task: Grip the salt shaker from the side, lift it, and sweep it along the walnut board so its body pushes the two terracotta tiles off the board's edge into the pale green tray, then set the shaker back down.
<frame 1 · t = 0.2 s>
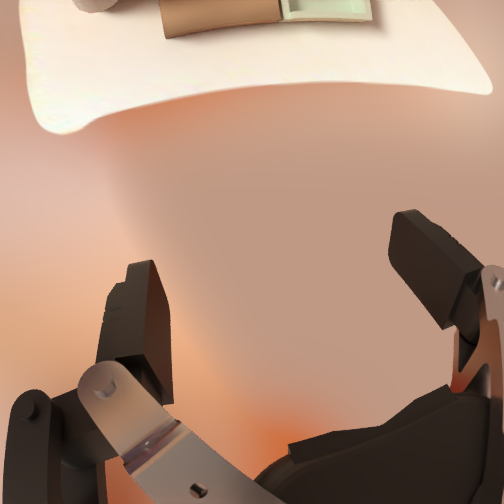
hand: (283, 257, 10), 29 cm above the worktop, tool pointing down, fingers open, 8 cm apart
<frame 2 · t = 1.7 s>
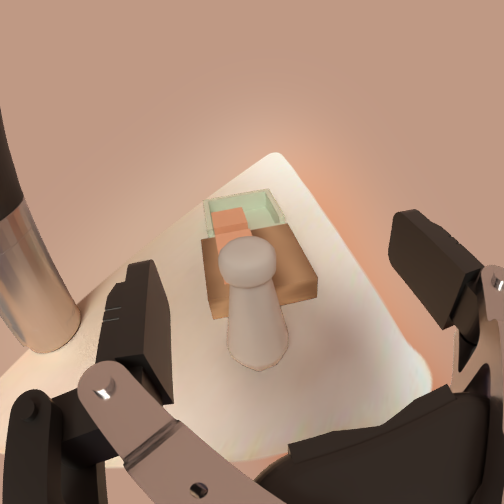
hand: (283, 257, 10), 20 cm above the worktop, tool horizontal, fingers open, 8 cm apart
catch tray: (243, 228, 50), on the worktop
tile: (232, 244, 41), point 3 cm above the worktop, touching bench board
salt shaker: (259, 355, 31), on the worktop
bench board: (255, 275, 40), on the worktop
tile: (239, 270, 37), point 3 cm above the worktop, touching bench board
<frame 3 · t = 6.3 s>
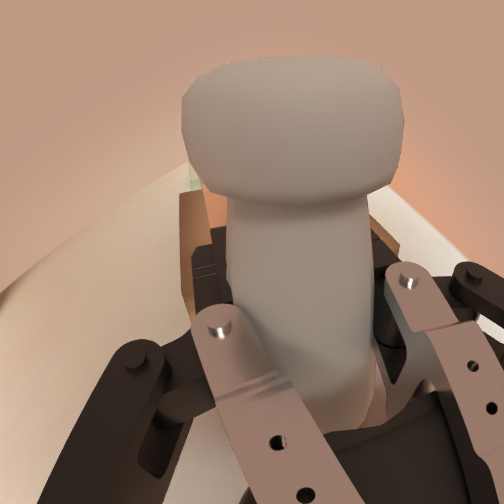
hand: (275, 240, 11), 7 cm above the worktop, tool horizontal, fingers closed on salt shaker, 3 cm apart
salt shaker: (297, 412, 13), on the worktop, touching gripper
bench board: (273, 250, 22), on the worktop
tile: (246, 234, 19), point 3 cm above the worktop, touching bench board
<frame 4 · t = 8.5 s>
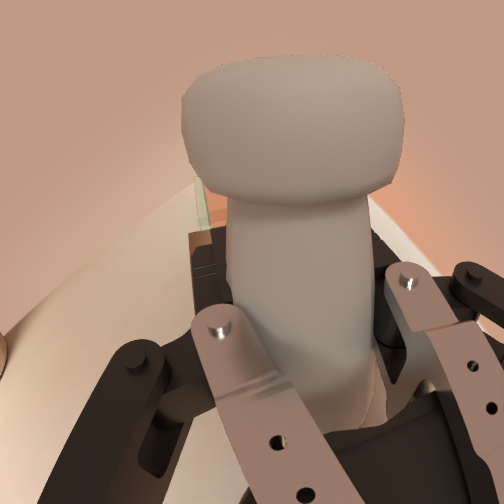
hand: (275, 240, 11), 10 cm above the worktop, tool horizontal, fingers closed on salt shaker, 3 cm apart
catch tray: (254, 216, 33), on the worktop
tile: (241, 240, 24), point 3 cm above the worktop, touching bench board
salt shaker: (297, 413, 13), point 3 cm above the worktop, touching gripper
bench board: (281, 294, 23), on the worktop
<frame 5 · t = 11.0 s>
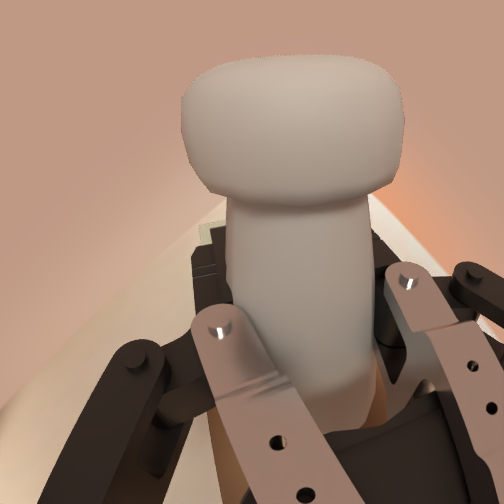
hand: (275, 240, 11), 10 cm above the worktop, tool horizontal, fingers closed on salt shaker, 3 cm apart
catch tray: (284, 285, 24), on the worktop
salt shaker: (297, 413, 13), point 3 cm above the worktop, touching gripper
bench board: (334, 426, 15), on the worktop
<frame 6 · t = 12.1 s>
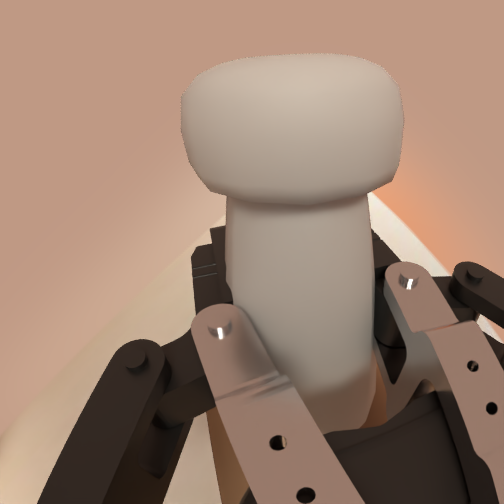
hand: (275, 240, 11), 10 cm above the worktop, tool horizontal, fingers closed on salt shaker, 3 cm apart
salt shaker: (297, 414, 13), point 3 cm above the worktop, touching gripper, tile
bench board: (353, 476, 12), on the worktop
when the fingers open (8 cm above the worktop, at t = 15.0 s): salt shaker drops 1 cm, on the worktop.
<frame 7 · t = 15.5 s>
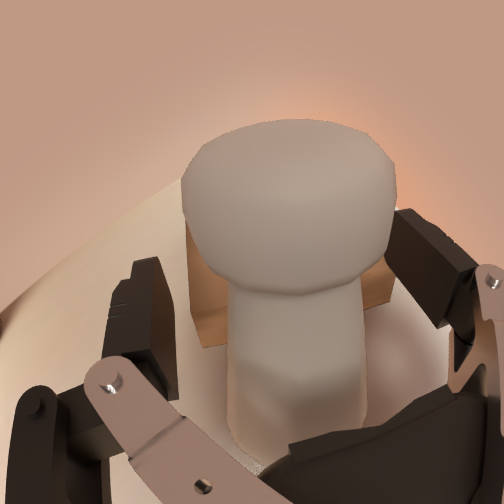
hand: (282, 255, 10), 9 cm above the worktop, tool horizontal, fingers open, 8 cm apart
salt shaker: (297, 428, 13), on the worktop
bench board: (277, 266, 23), on the worktop
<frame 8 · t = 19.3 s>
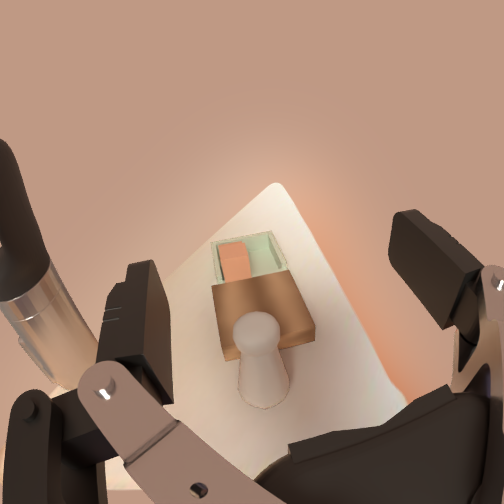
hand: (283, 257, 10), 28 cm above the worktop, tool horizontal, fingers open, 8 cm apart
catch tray: (248, 269, 55), on the worktop
salt shaker: (265, 395, 35), on the worktop
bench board: (260, 319, 45), on the worktop
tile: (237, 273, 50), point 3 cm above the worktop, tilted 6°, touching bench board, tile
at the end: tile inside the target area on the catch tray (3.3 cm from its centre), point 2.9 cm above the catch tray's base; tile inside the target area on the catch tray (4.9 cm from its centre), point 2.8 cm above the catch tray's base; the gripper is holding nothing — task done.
